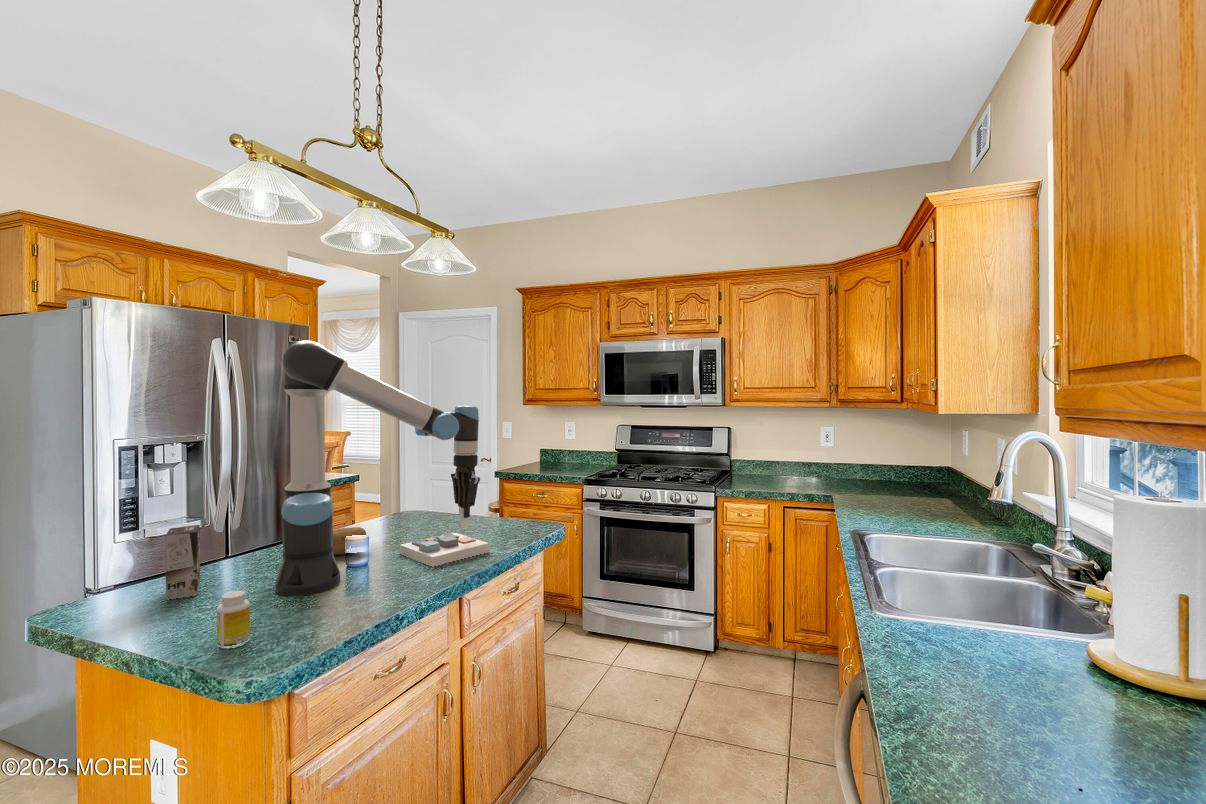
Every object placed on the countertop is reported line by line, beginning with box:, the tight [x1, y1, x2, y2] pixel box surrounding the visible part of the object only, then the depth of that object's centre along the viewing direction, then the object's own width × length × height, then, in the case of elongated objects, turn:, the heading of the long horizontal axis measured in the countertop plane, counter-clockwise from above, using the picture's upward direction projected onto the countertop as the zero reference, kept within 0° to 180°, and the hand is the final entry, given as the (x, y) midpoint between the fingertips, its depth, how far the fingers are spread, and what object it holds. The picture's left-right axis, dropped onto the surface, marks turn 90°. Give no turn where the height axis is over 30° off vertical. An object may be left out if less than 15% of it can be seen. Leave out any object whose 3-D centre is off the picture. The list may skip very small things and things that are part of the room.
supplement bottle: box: [216, 590, 251, 646], centre depth 111 cm, size 6×6×10 cm
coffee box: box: [165, 524, 201, 601], centre depth 139 cm, size 9×6×16 cm
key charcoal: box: [438, 536, 458, 548], centre depth 172 cm, size 4×4×3 cm
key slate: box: [419, 540, 440, 553], centre depth 167 cm, size 4×4×3 cm
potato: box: [333, 526, 367, 556], centre depth 172 cm, size 10×14×8 cm
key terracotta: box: [458, 536, 476, 544], centre depth 177 cm, size 4×4×3 cm
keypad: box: [399, 532, 490, 568], centre depth 173 cm, size 20×19×4 cm
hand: (464, 527), depth 177 cm, fingers closed
